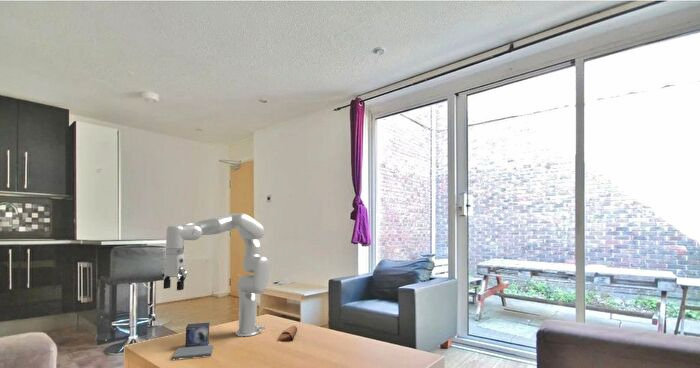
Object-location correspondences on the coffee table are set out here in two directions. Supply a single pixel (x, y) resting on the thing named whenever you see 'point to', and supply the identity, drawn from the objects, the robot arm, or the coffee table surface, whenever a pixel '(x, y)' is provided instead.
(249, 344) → the coffee table surface
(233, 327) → the coffee table surface
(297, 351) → the coffee table surface
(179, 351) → the rubber pad
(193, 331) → the small box
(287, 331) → the sunglasses case
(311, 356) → the coffee table surface
